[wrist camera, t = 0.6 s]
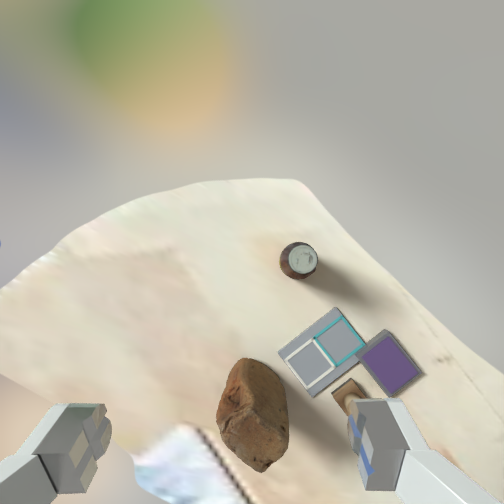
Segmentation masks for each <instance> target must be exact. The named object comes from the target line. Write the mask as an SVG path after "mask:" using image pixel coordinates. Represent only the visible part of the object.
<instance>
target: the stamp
mask: <svg viewBox="0 0 504 504" xmlns="http://www.w3.org/2000/svg"><path fill="white" fill-rule="evenodd" d="M331 394H332V396H333V398H334V399H335V401H336V402H337V403H338V404H339V406H340V407H341V408H342V410H343V411H344V412H345V413H346V415H347V416H348V417H349V416H350V415H351V414H352V413H351V410H350V402H351V400H352V399H367V398H366V397H365V395H364V394H363V393H362V392H361V390H360V389H359V388H358V386H357V385H356V384H355V383H354V381H353V380H352V379H351V378H350V379H349V380H347V381H346V382H345V383H343V384H342V385H341V386H339V387H338V388H337V389H336V390H334V391H333V392H332V393H331Z"/></svg>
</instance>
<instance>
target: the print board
mask: <svg viewBox="0 0 504 504" xmlns="http://www.w3.org/2000/svg"><path fill="white" fill-rule="evenodd" d="M365 346H366V344H365V343H364V342H363V340H362V339H361V338H360V337H359V335H358V334H357V333H356V332H355V330H354V329H353V328H352V327H351V325H350V324H349V323H348V322H347V320H346V319H345V318H344V317H343V315H342V314H341V313H340V312H339V310H338V309H337V308H336V307H334V308H333V309H332V310H330V311H329V312H328V313H327V314H325V315H324V316H323V317H322V318H320V319H319V320H318V321H316V322H315V323H314V324H313V325H311V326H310V327H309V328H307V329H306V330H305V331H304V332H302V333H301V334H300V335H298V336H297V337H296V338H295V339H293V340H292V341H291V342H289V343H288V344H287V345H286V346H284V347H283V348H282V349H280V350H279V351H278V354H279V355H280V357H281V358H282V359H283V360H284V362H285V363H286V364H287V366H288V367H289V368H290V370H291V371H292V372H293V373H294V375H295V376H296V377H297V379H298V380H299V381H300V383H301V384H302V385H303V386H304V388H305V389H306V390H307V392H308V393H309V394H310V395H311V397H313V396H314V395H316V394H317V393H318V392H320V391H321V390H322V389H323V388H325V387H326V386H327V385H329V384H330V383H331V382H333V381H334V380H335V379H336V378H338V377H339V376H340V375H342V374H343V373H344V372H345V371H347V370H348V369H349V368H351V367H352V366H353V365H354V364H356V363H357V362H358V361H359V359H358V358H357V357H356V356H355V354H356V353H357V352H359V351H360V350H361V349H362V348H364V347H365Z"/></svg>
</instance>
